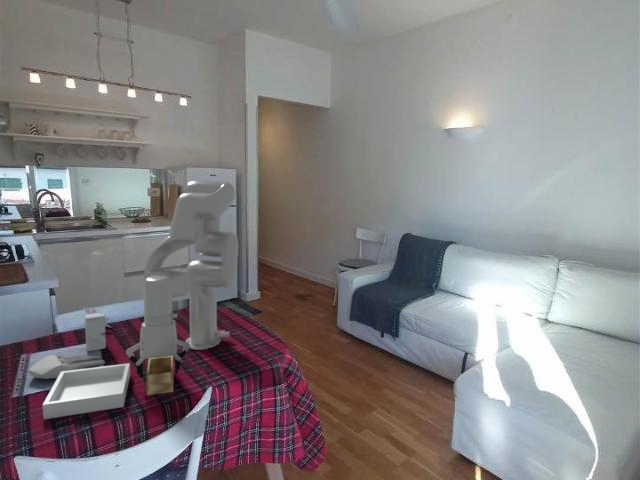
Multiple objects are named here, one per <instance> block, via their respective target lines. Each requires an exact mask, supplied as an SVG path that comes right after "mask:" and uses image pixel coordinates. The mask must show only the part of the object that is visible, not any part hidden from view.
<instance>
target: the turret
mask: <svg viewBox="0 0 640 480" xmlns="http://www.w3.org/2000/svg"><path fill="white" fill-rule="evenodd" d="M104 364H106V361H105V360H104V359H102V357H101V356H100V354H93V355H88V356H87V355H86V356H77V357H71V358H69V357H67V358H66V357H63V356H60V355H59V356H58V355H55V354H51V355H46V356H45V357H43V358H41V359H40V360H38V361H36V362H35V363H34V364H33V365H32V366H31V367H30V368H29V369H28V373H29V375H30V376H31V377H34V378H37V379H46V380H49V379H57V378H58V376H59V374H60V373H61V372H62V371H70V370H78V369H87V368H90V367H94V366H95V367H96V366H100V365H104Z"/></svg>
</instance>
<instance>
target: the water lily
mask: <svg viewBox="0 0 640 480" xmlns="http://www.w3.org/2000/svg"><path fill="white" fill-rule="evenodd" d="M83 309H84V311H85V313H86V315H87V314H93V313H98V311H97V309H95V308H94V307H92V309H90V307H89V306H88V305H87V306H83ZM110 319H111V318H110V317H107V316H106V314H105V328H106V327H107V328H113V326H111V325H109V323H111V321H110ZM108 320H109V321H108Z"/></svg>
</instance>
